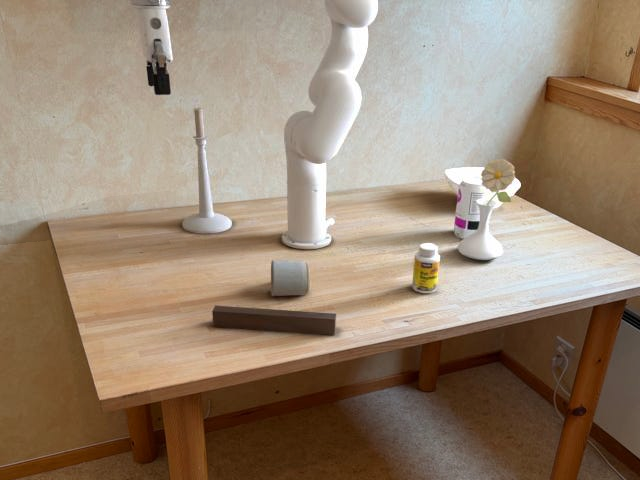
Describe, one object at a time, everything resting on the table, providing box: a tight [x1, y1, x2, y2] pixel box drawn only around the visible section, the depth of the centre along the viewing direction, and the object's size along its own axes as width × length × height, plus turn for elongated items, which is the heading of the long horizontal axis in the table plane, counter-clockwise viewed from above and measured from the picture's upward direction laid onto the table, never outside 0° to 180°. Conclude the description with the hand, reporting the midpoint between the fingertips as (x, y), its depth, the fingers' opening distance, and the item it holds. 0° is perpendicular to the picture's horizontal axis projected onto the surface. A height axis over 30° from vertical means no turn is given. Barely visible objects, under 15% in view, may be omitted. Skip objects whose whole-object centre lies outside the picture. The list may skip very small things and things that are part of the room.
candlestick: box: [181, 106, 233, 235], centre depth 175 cm, size 13×13×30 cm
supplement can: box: [453, 177, 491, 240], centre depth 181 cm, size 8×8×15 cm
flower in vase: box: [457, 157, 516, 261], centre depth 166 cm, size 13×11×25 cm
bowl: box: [444, 166, 521, 209], centre depth 205 cm, size 21×21×9 cm
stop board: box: [211, 304, 337, 336], centre depth 135 cm, size 2×24×4 cm, turn 87°
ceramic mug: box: [270, 259, 311, 297], centre depth 149 cm, size 11×8×8 cm
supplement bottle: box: [411, 242, 441, 294], centre depth 152 cm, size 6×6×10 cm
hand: (159, 90), depth 145 cm, fingers open, 9 cm apart
